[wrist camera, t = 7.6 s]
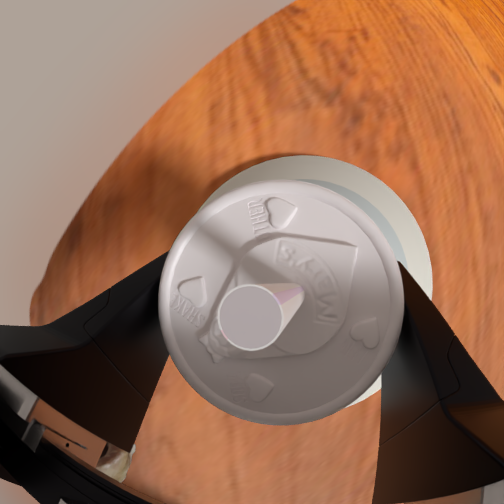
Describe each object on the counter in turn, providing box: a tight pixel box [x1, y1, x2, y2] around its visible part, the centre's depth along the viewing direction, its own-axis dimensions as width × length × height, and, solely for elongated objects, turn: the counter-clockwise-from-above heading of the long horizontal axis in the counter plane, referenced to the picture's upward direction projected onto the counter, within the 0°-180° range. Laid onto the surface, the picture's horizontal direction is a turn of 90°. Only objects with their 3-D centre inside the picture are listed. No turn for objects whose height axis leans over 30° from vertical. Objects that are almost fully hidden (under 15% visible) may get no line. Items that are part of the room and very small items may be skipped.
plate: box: [198, 155, 432, 408], centre depth 18 cm, size 18×18×1 cm
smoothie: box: [158, 180, 404, 425], centre depth 9 cm, size 6×6×14 cm
